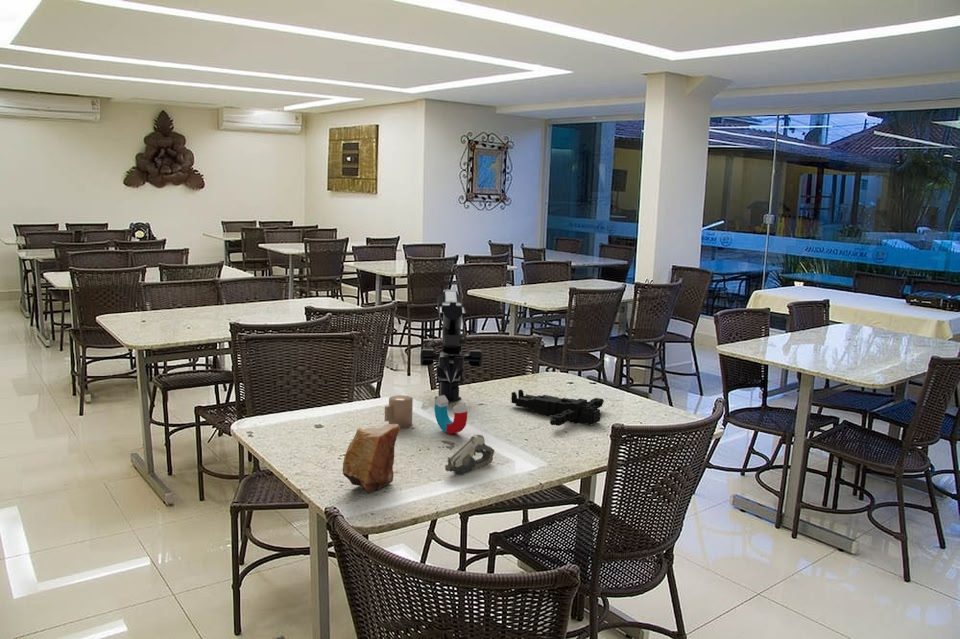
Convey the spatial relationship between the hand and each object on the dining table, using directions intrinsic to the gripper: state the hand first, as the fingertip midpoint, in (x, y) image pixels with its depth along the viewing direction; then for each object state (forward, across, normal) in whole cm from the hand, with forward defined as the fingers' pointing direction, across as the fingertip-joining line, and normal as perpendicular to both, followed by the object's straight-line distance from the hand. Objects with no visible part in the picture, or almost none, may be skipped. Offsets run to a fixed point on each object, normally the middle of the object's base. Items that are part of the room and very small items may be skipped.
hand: (451, 382), depth 218 cm
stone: (+43, -19, -24) cm, 52 cm away
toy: (+2, +34, +17) cm, 38 cm away
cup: (+11, -16, +8) cm, 20 cm away
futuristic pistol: (+34, +4, -16) cm, 38 cm away
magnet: (+15, 0, +4) cm, 15 cm away
